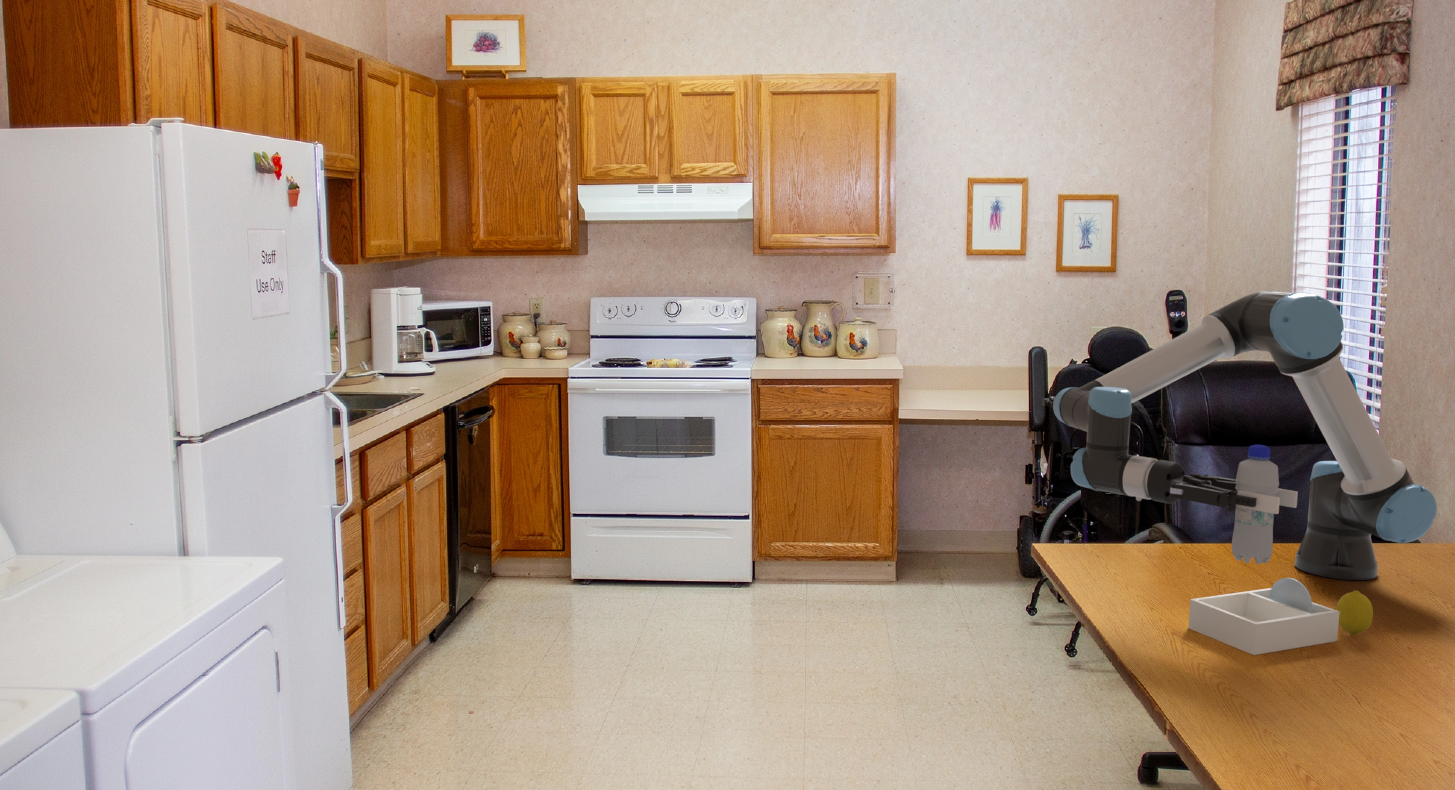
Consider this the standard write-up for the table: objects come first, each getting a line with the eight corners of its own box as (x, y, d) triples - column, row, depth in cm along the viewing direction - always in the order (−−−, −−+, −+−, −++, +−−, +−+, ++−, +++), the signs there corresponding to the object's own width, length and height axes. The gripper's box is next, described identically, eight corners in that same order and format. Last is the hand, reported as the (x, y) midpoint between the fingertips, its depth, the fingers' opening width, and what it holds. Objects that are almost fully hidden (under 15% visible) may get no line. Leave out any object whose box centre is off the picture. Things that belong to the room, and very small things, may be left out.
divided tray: (1268, 615, 202) (1272, 566, 201) (1336, 640, 190) (1341, 588, 188) (1188, 627, 195) (1191, 576, 194) (1253, 655, 182) (1258, 600, 181)
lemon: (1375, 642, 189) (1380, 596, 188) (1340, 639, 190) (1344, 594, 189) (1364, 631, 195) (1368, 587, 194) (1329, 629, 196) (1333, 584, 195)
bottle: (1221, 555, 193) (1230, 441, 191) (1259, 555, 194) (1268, 441, 191) (1242, 566, 187) (1251, 448, 184) (1280, 566, 187) (1290, 448, 185)
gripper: (1179, 493, 209) (1308, 516, 192) (1126, 507, 196) (1260, 533, 179) (1182, 453, 208) (1312, 473, 191) (1129, 465, 195) (1264, 487, 178)
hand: (1287, 502), depth 185 cm, fingers closed on bottle, 6 cm apart
